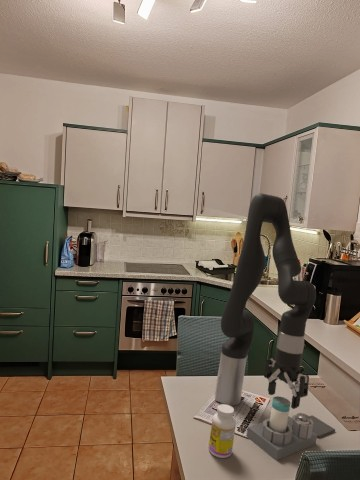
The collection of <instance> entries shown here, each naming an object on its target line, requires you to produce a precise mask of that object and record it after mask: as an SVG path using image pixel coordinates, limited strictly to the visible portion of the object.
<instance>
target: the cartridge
mask: <svg viewBox="0 0 360 480" xmlns="http://www.w3.org/2000/svg"><path fill="white" fill-rule="evenodd" d="M290 408H291V401H290V400H289V399H288V398H286V397H283V396H279V395H277V396H274V397H272V403H271V410H270V417H269V418H270V422H269V428H270V429H271V430H273V431H274V432H279V433H286V428H287V421H288V416H289V414H290Z"/></svg>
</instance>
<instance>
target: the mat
mask: <svg viewBox="0 0 360 480" xmlns="http://www.w3.org/2000/svg"><path fill="white" fill-rule="evenodd" d="M308 416H309V417H310V419H311V420H312V421H313V431H312V432H314V433H315V434H317V439H321V438H323V437H326V436H328V435H330V434H332V433H335V432H336V428H335V427H332V426H330V425H329V424H327V423H326V422H324V421H322V420H321V419H320V418H317V417H316V416H315V415H314V414H313V415H308Z"/></svg>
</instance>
